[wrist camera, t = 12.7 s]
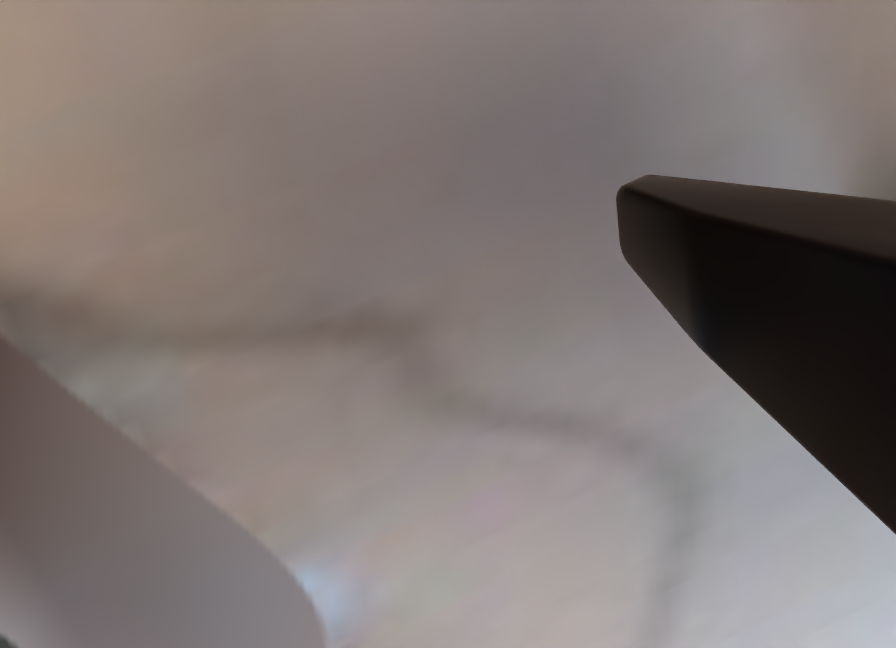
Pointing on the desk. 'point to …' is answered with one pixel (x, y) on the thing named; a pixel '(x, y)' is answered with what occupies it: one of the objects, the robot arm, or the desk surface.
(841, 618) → the desk surface
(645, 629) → the desk surface
